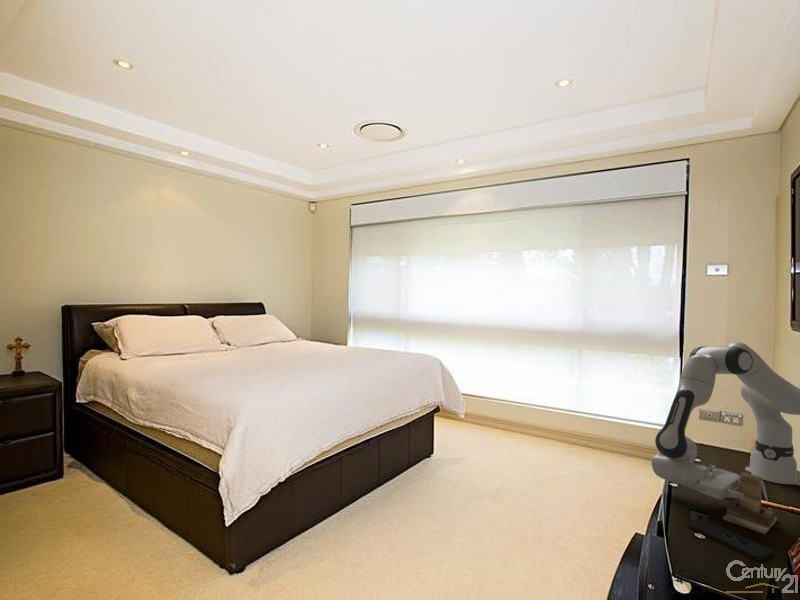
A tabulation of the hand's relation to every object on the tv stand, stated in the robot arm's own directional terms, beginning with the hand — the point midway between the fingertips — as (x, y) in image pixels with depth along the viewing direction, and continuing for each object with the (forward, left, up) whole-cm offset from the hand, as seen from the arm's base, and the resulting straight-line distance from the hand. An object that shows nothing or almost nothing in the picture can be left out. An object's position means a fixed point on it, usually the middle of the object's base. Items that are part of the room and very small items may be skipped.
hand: (749, 492), depth 146 cm
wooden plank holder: (0, 0, -9) cm, 9 cm away
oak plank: (0, 0, -8) cm, 8 cm away
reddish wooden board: (-25, -14, -10) cm, 30 cm away
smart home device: (+20, 0, -10) cm, 23 cm away
